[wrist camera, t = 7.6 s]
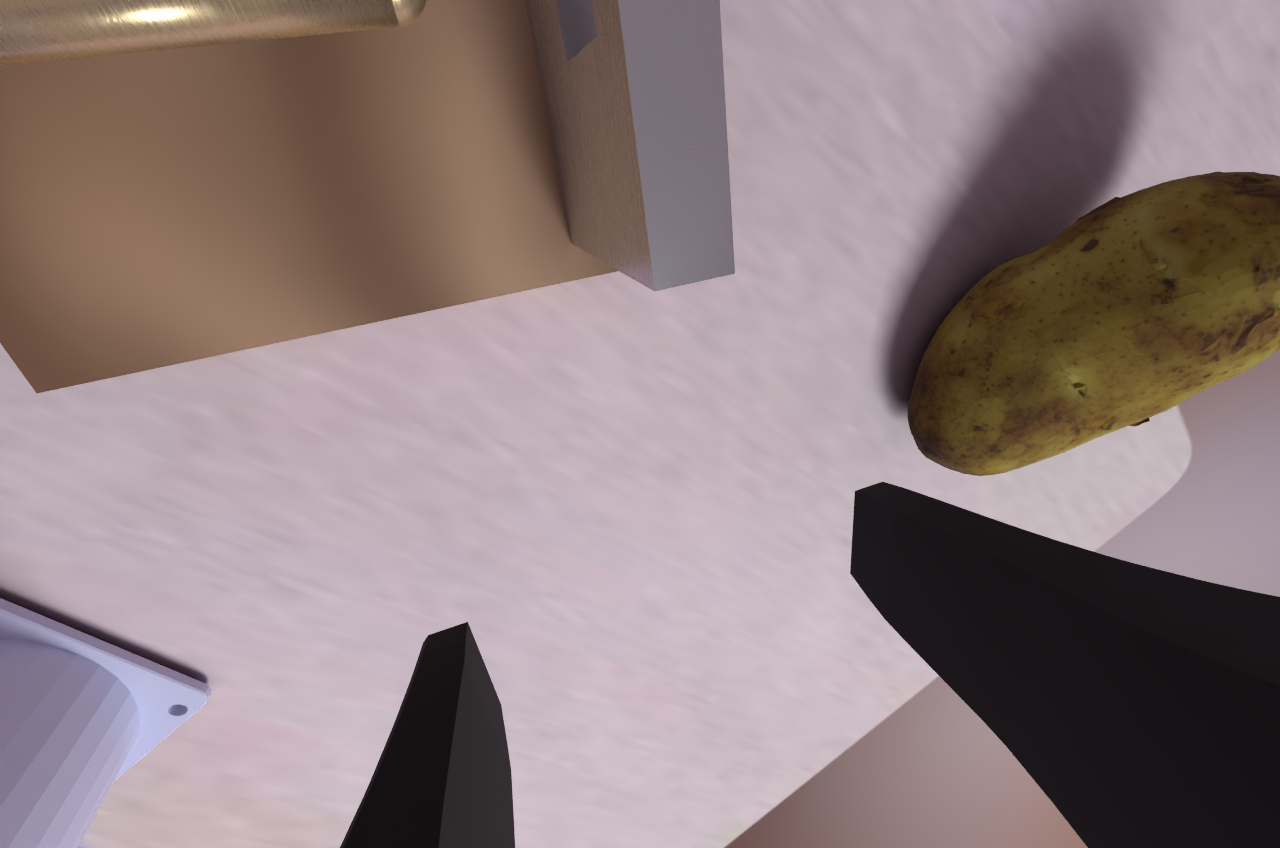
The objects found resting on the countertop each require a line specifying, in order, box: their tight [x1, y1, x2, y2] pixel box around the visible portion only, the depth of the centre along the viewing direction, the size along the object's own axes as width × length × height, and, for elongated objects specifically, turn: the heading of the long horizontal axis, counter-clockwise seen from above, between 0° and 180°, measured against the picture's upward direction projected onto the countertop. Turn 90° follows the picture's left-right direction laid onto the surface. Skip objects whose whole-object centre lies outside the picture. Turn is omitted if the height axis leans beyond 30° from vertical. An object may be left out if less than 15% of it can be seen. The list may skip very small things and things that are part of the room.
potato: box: [908, 172, 1280, 476], centre depth 20 cm, size 8×13×8 cm, turn 117°
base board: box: [0, 0, 618, 393], centre depth 13 cm, size 18×12×2 cm, turn 97°
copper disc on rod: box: [0, 0, 427, 66], centre depth 7 cm, size 11×8×8 cm
